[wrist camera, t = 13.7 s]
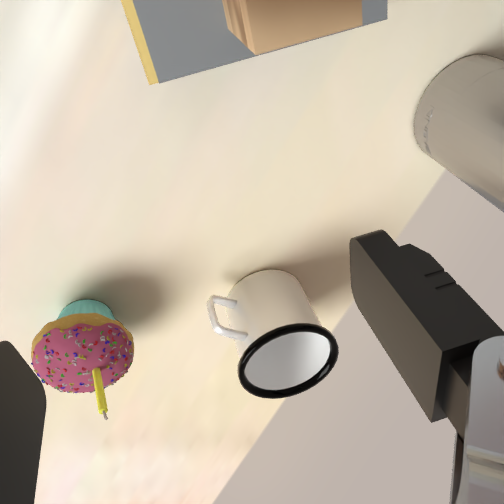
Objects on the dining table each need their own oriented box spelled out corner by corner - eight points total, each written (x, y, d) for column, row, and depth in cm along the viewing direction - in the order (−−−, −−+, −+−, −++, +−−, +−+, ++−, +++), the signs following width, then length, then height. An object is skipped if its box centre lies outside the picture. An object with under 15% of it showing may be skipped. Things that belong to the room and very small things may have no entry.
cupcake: (107, 271, 41) (106, 377, 31) (147, 329, 46) (156, 434, 37) (17, 306, 40) (-10, 423, 31) (68, 361, 46) (57, 474, 36)
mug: (322, 277, 48) (359, 340, 41) (276, 338, 52) (302, 405, 45) (225, 244, 42) (248, 310, 35) (181, 316, 46) (194, 388, 39)
